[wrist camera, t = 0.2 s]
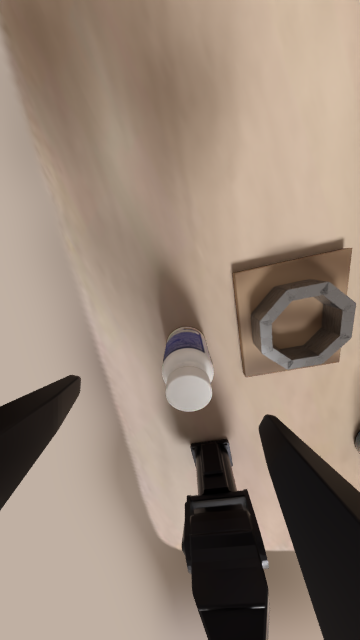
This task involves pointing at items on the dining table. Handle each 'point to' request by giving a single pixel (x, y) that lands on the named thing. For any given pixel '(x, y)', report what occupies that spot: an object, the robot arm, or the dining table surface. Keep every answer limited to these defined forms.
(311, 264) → the tan board
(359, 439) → the canister
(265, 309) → the ring collar
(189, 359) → the pill bottle
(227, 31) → the dining table surface
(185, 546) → the robot arm
